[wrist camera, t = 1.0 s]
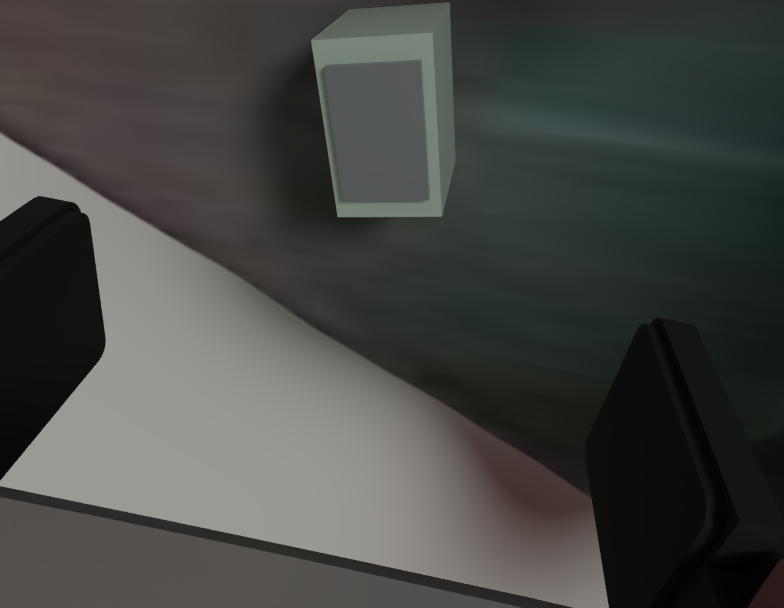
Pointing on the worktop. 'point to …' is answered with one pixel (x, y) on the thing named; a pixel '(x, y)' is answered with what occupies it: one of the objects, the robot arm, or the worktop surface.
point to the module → (388, 109)
